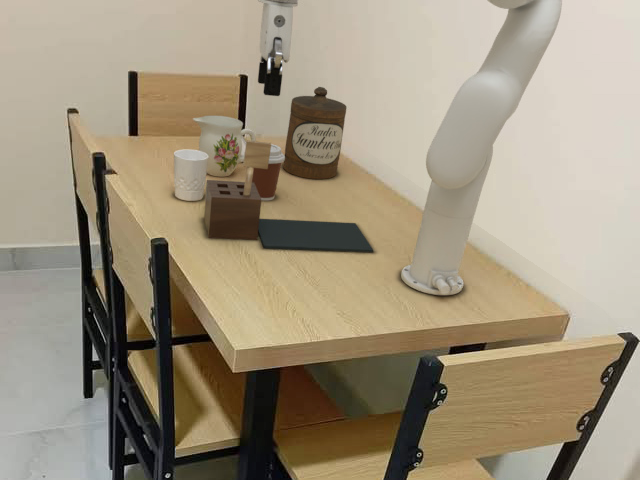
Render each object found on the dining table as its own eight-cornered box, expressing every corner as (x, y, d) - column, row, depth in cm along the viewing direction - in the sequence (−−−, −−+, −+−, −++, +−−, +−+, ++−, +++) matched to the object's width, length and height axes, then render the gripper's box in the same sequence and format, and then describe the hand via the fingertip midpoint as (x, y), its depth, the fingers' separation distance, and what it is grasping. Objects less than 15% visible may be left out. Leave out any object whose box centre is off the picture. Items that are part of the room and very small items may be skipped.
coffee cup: (287, 200, 181) (293, 151, 174) (256, 204, 176) (261, 154, 169) (266, 187, 187) (271, 140, 180) (235, 191, 182) (240, 142, 175)
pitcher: (261, 177, 193) (267, 124, 186) (198, 181, 185) (202, 125, 177) (242, 163, 201) (247, 112, 194) (181, 166, 192) (184, 113, 185)
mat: (373, 252, 159) (373, 250, 159) (264, 248, 154) (264, 245, 154) (354, 225, 172) (355, 223, 172) (253, 220, 167) (253, 218, 166)
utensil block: (257, 239, 158) (261, 199, 153) (208, 237, 156) (211, 197, 151) (250, 221, 166) (254, 182, 162) (203, 219, 164) (206, 179, 159)
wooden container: (290, 178, 195) (301, 92, 183) (277, 160, 207) (287, 78, 195) (343, 180, 199) (357, 96, 187) (327, 162, 211) (340, 82, 199)
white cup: (200, 204, 171) (202, 162, 166) (167, 198, 172) (169, 156, 167) (209, 194, 178) (212, 153, 173) (178, 188, 179) (180, 147, 173)
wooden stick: (257, 236, 160) (271, 144, 150) (234, 234, 159) (247, 141, 148) (256, 233, 161) (270, 142, 151) (233, 231, 160) (246, 139, 150)
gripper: (305, 3, 132) (293, 101, 141) (291, -9, 146) (280, 81, 155) (264, -2, 130) (254, 98, 139) (253, -14, 145) (245, 77, 154)
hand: (268, 89), depth 147 cm, fingers open, 9 cm apart
